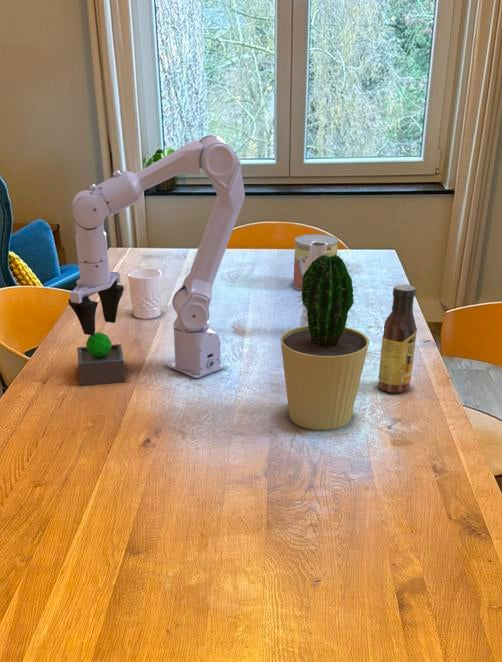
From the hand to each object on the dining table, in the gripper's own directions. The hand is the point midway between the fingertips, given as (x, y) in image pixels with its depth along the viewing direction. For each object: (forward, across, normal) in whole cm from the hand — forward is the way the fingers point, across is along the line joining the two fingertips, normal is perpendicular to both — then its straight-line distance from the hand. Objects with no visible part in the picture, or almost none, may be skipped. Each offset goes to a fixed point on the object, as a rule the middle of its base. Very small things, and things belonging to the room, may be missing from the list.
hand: (100, 327), depth 159 cm
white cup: (+10, -35, -10) cm, 38 cm away
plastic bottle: (+10, -40, +31) cm, 52 cm away
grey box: (+10, +1, 0) cm, 10 cm away
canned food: (+10, -73, +19) cm, 76 cm away
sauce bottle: (+10, -18, +56) cm, 60 cm away
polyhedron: (+6, +1, 0) cm, 6 cm away
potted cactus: (+10, 0, +47) cm, 48 cm away
